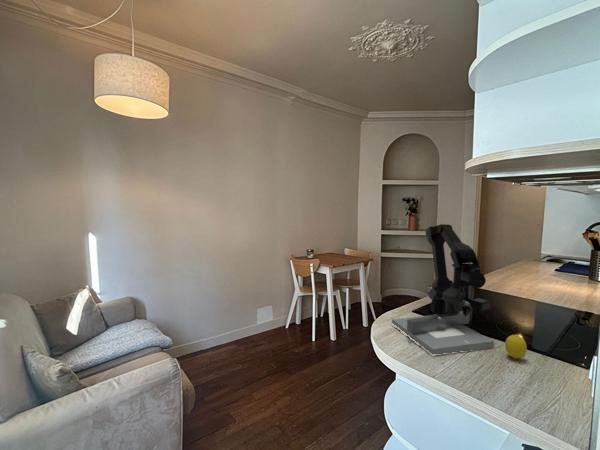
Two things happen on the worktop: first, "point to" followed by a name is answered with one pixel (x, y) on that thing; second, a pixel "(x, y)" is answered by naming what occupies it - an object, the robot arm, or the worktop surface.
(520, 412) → the worktop surface
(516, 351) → the lemon
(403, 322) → the cover plate
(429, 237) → the robot arm
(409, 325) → the dark grey bar
